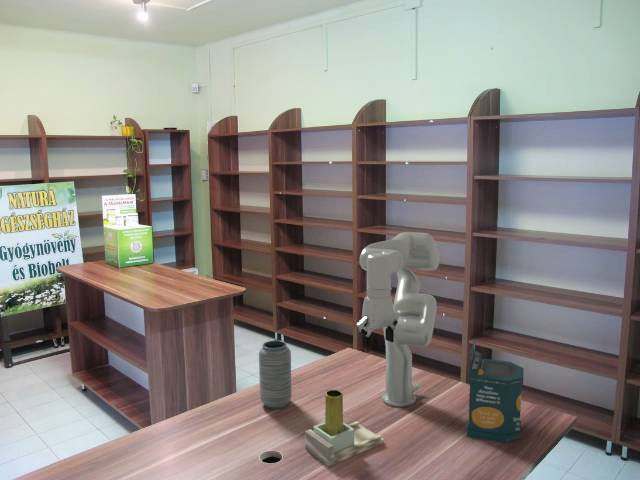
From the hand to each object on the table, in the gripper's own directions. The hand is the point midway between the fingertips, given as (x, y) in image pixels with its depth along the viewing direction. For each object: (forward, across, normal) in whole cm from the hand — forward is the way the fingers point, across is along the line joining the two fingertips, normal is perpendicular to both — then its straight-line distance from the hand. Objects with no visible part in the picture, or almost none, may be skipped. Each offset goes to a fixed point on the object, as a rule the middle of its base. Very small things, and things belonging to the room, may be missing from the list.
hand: (378, 344), depth 173 cm
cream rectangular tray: (+30, +14, 0) cm, 33 cm away
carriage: (+29, +18, 0) cm, 34 cm away
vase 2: (+26, +18, 0) cm, 32 cm away
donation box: (+31, -32, +22) cm, 49 cm away
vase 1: (+31, +16, -38) cm, 51 cm away
